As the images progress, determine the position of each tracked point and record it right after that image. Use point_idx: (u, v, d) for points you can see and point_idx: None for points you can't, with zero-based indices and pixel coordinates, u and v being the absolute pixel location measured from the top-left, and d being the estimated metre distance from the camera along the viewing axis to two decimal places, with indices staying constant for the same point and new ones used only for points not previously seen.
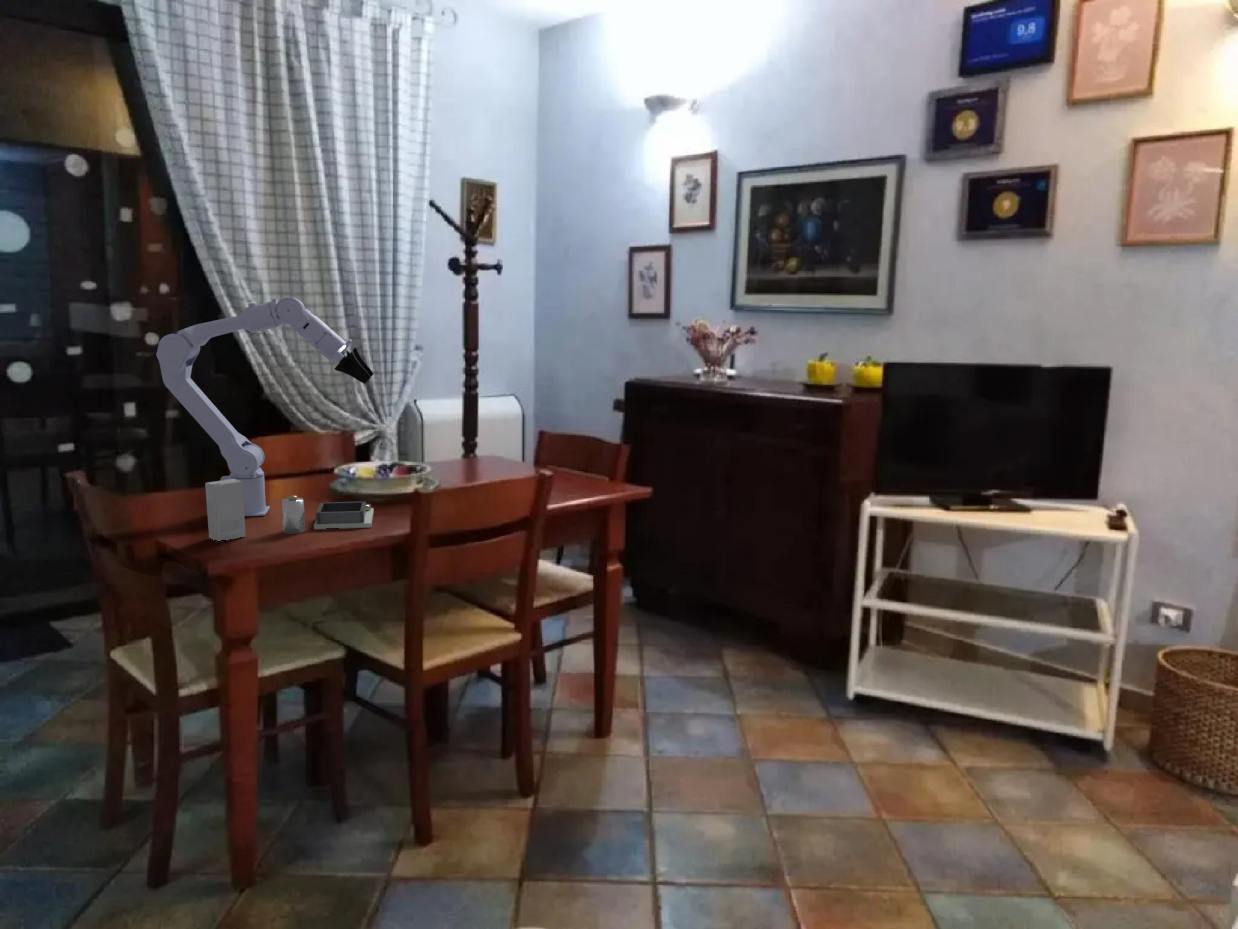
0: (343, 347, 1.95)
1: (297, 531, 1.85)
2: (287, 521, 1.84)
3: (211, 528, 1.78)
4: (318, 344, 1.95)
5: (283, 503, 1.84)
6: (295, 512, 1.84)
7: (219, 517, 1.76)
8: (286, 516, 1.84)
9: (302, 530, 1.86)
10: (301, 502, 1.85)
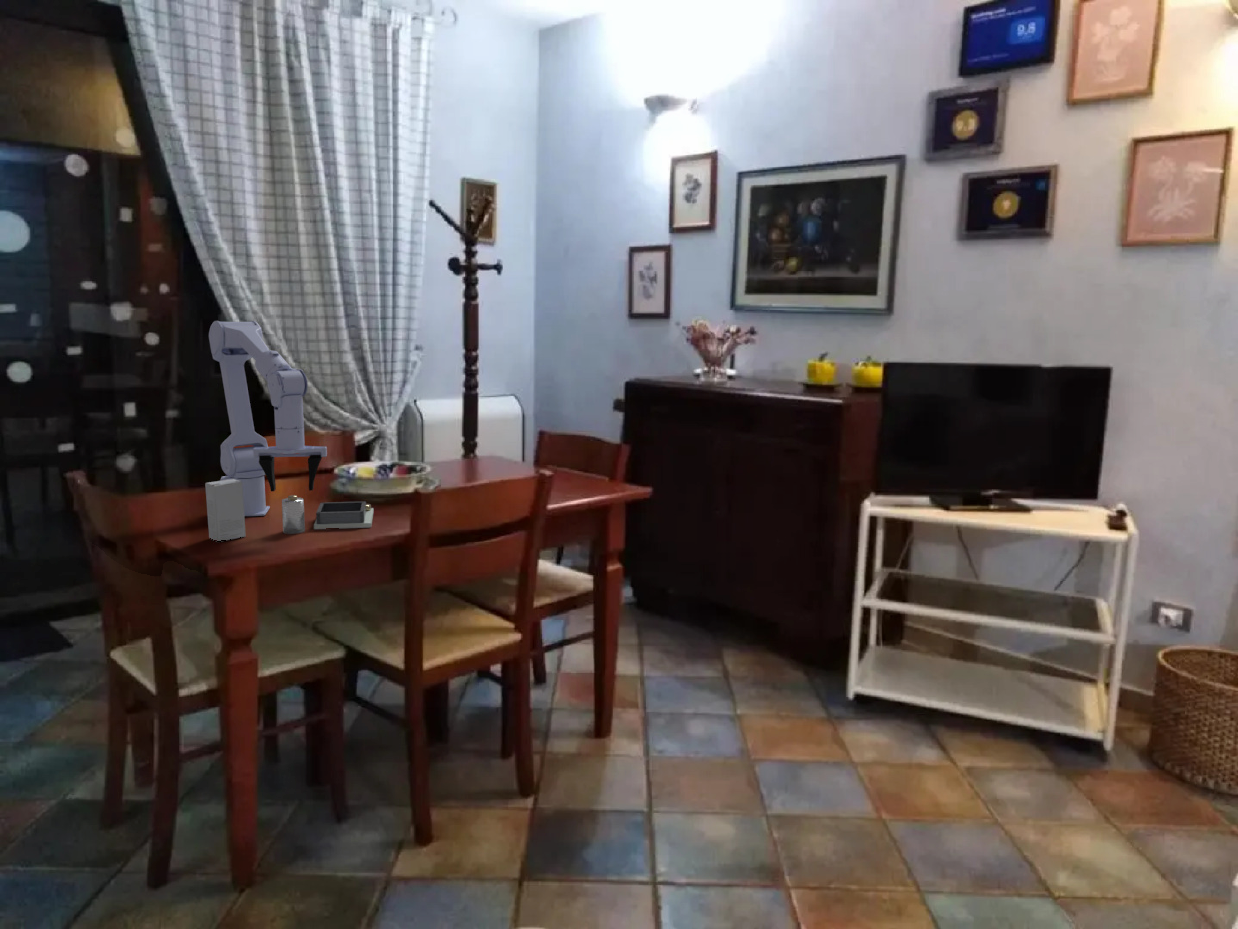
0: (271, 451, 1.81)
1: (297, 531, 1.85)
2: (287, 521, 1.84)
3: (211, 528, 1.78)
4: None
5: (283, 503, 1.84)
6: (295, 512, 1.84)
7: (219, 517, 1.76)
8: (286, 516, 1.84)
9: (302, 530, 1.86)
10: (301, 502, 1.85)
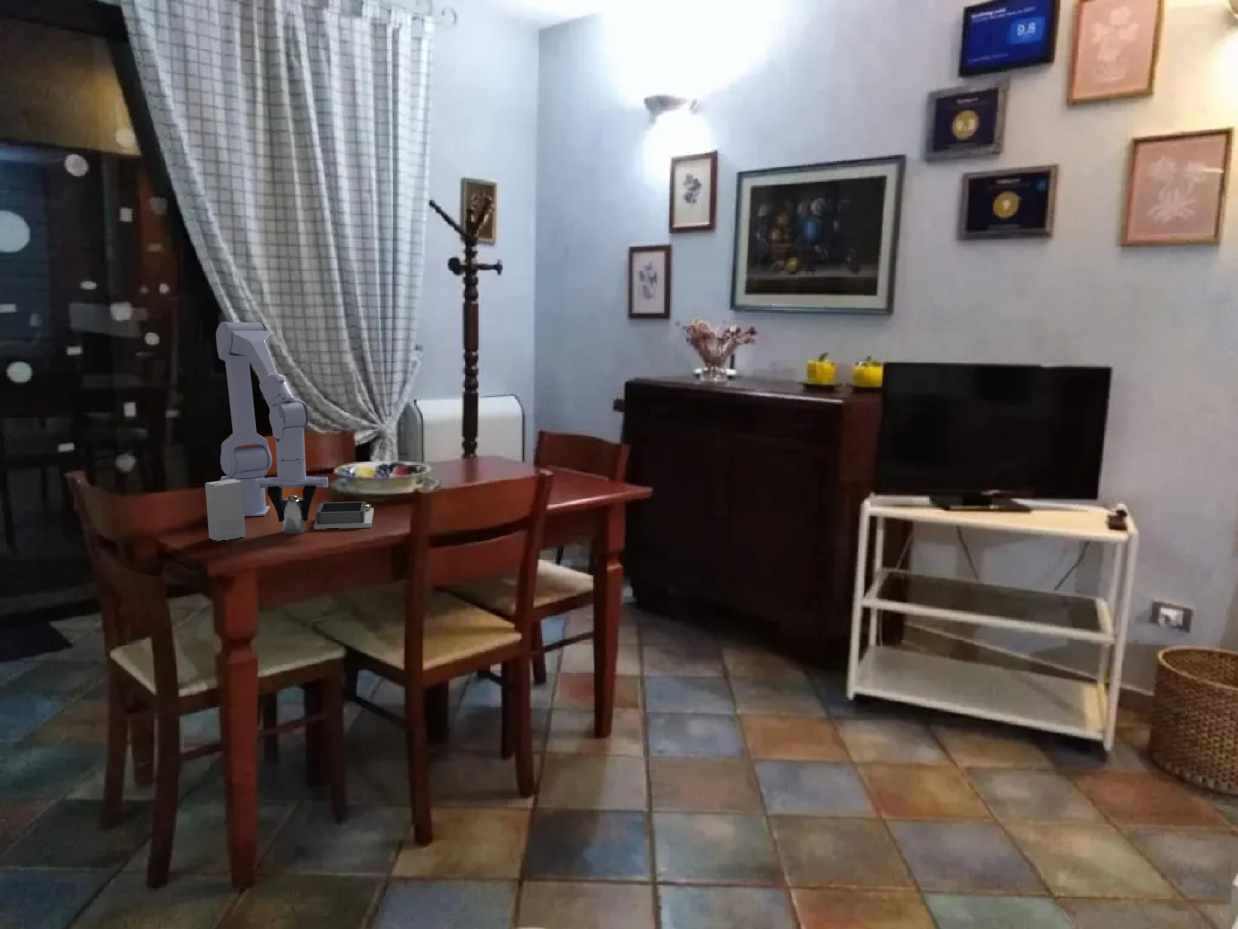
0: (273, 482, 1.82)
1: (297, 531, 1.85)
2: (287, 521, 1.84)
3: (211, 528, 1.78)
4: None
5: (283, 503, 1.84)
6: (295, 512, 1.84)
7: (219, 517, 1.76)
8: (286, 516, 1.84)
9: (302, 530, 1.86)
10: (301, 502, 1.85)
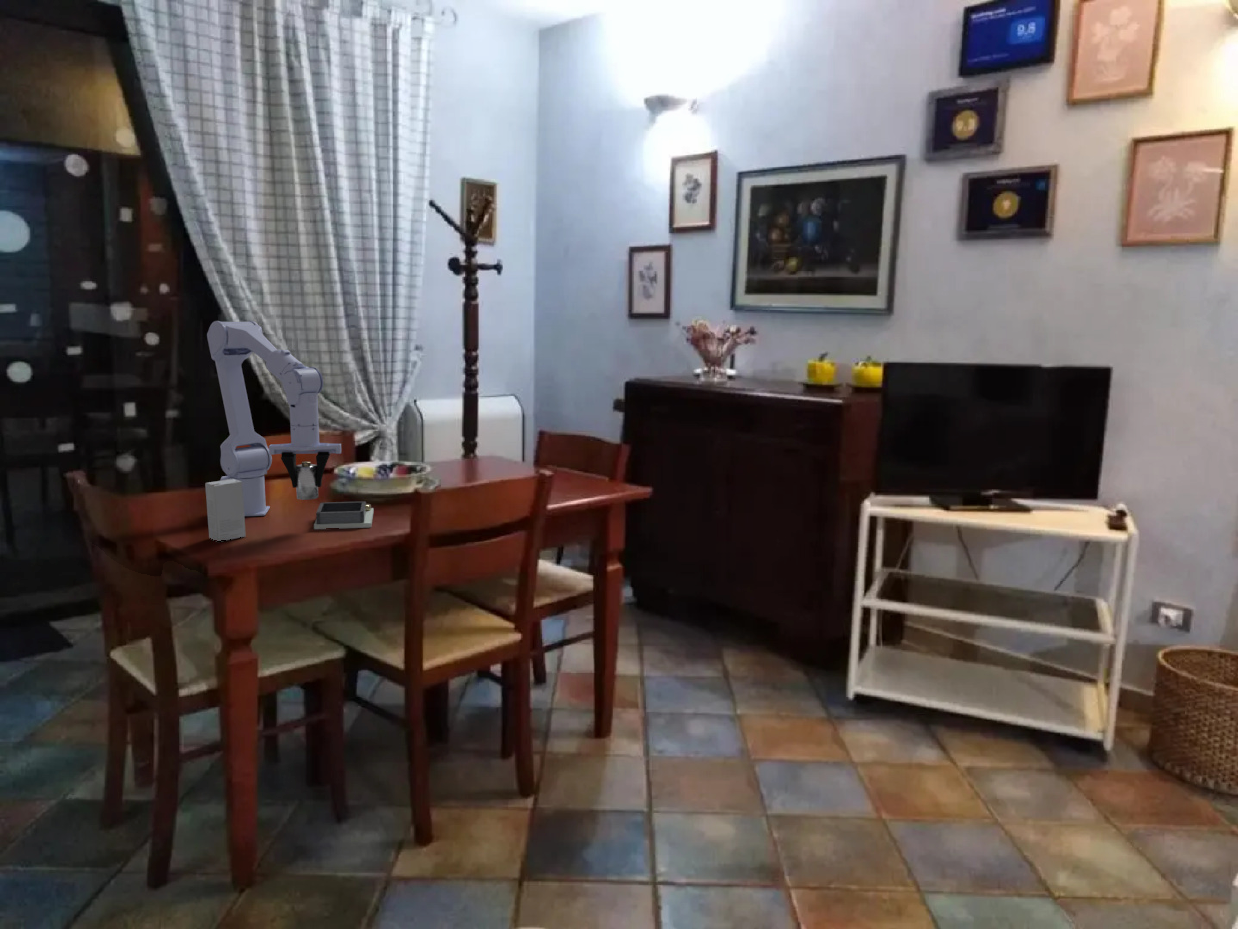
0: (287, 448, 1.83)
1: (310, 497, 1.86)
2: (301, 487, 1.85)
3: (211, 528, 1.78)
4: None
5: (297, 469, 1.85)
6: (308, 478, 1.85)
7: (219, 517, 1.76)
8: (299, 481, 1.85)
9: (315, 496, 1.87)
10: (315, 468, 1.86)
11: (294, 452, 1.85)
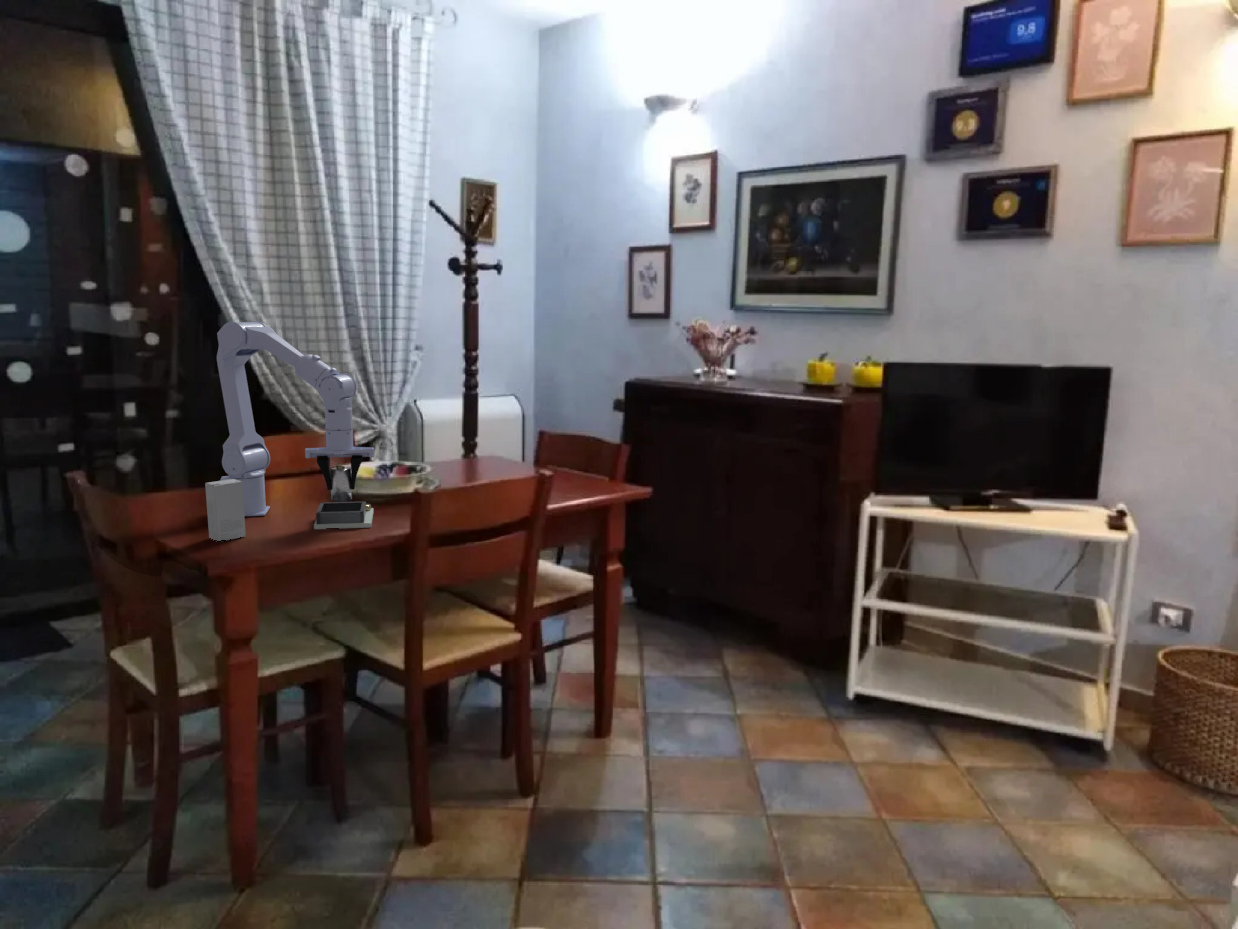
0: (322, 452, 1.89)
1: (345, 499, 1.92)
2: (336, 489, 1.91)
3: (211, 528, 1.78)
4: None
5: (332, 472, 1.91)
6: (343, 480, 1.91)
7: (219, 517, 1.76)
8: (334, 484, 1.91)
9: (349, 498, 1.93)
10: (349, 471, 1.92)
11: (329, 456, 1.91)
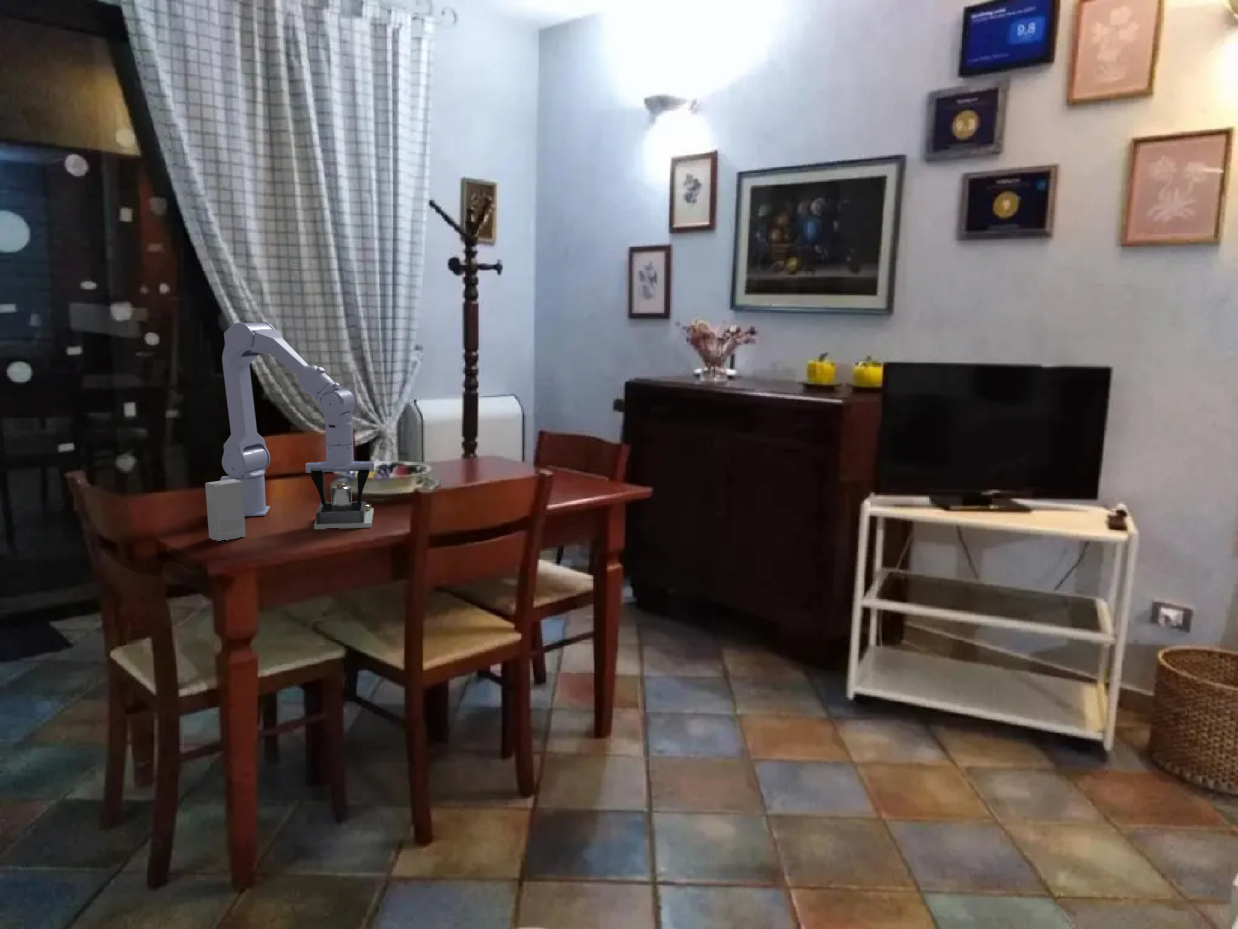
0: (323, 466, 1.90)
1: None
2: (336, 507, 1.92)
3: (211, 528, 1.78)
4: None
5: (332, 491, 1.92)
6: (343, 499, 1.92)
7: (219, 517, 1.76)
8: (335, 502, 1.92)
9: None
10: (349, 489, 1.93)
11: (329, 470, 1.92)
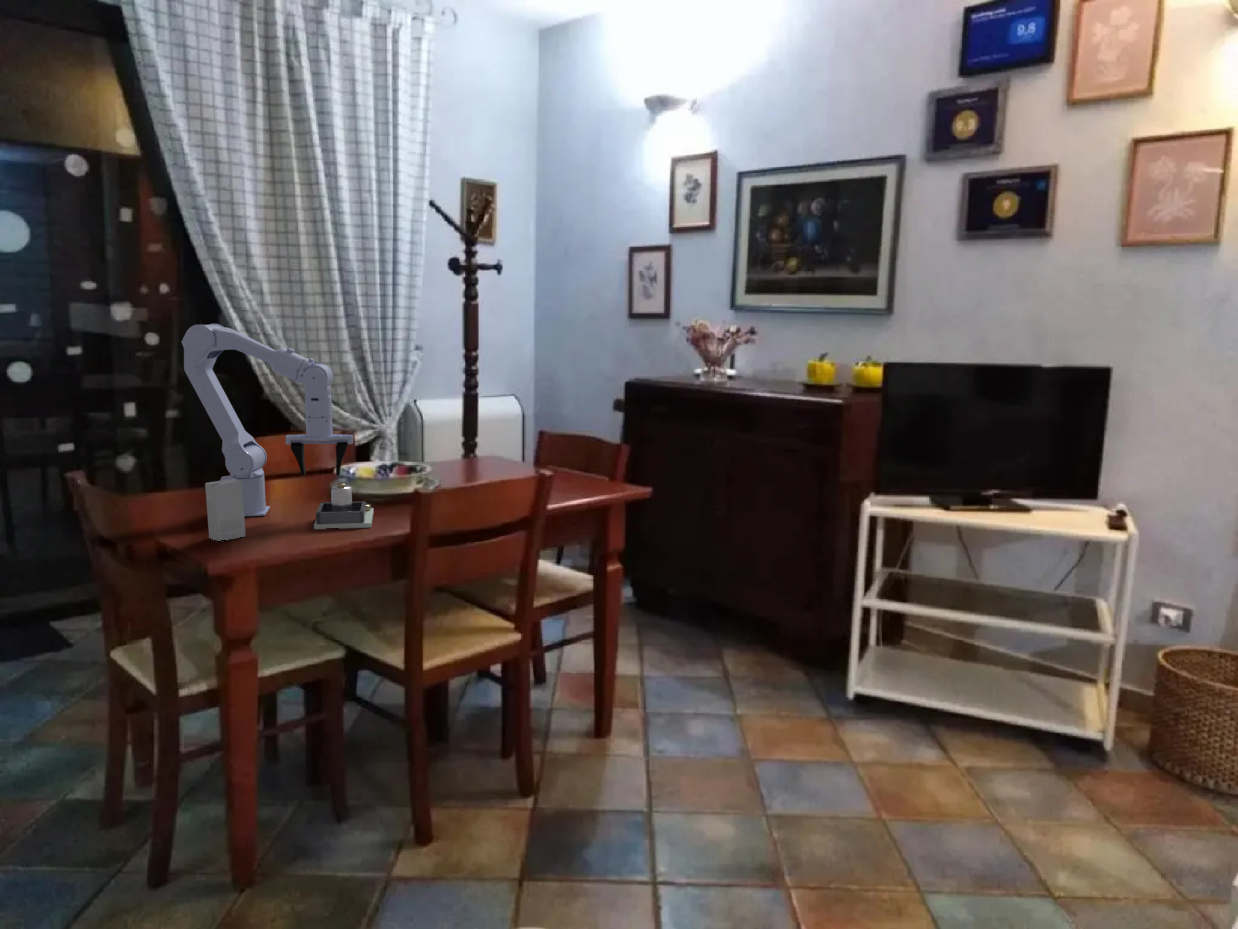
0: (302, 438, 1.96)
1: None
2: (336, 507, 1.92)
3: (211, 528, 1.78)
4: None
5: (332, 491, 1.92)
6: (344, 499, 1.92)
7: (219, 517, 1.76)
8: (335, 502, 1.92)
9: None
10: (349, 489, 1.93)
11: (309, 442, 1.98)
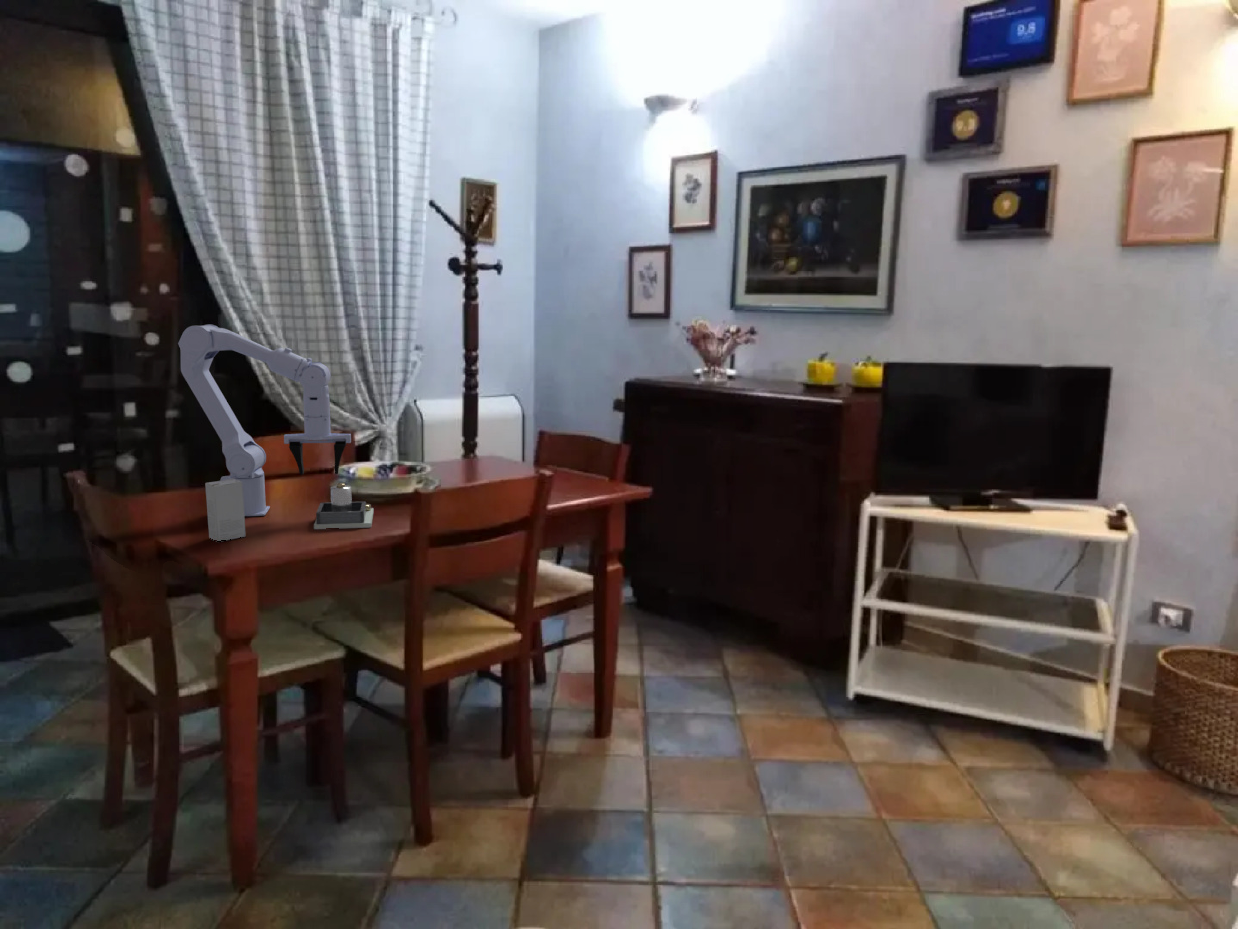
0: (301, 437, 1.97)
1: None
2: (336, 508, 1.92)
3: (211, 528, 1.78)
4: None
5: (332, 491, 1.92)
6: (343, 499, 1.92)
7: (219, 517, 1.76)
8: (335, 503, 1.92)
9: None
10: (349, 489, 1.93)
11: (307, 441, 1.99)
